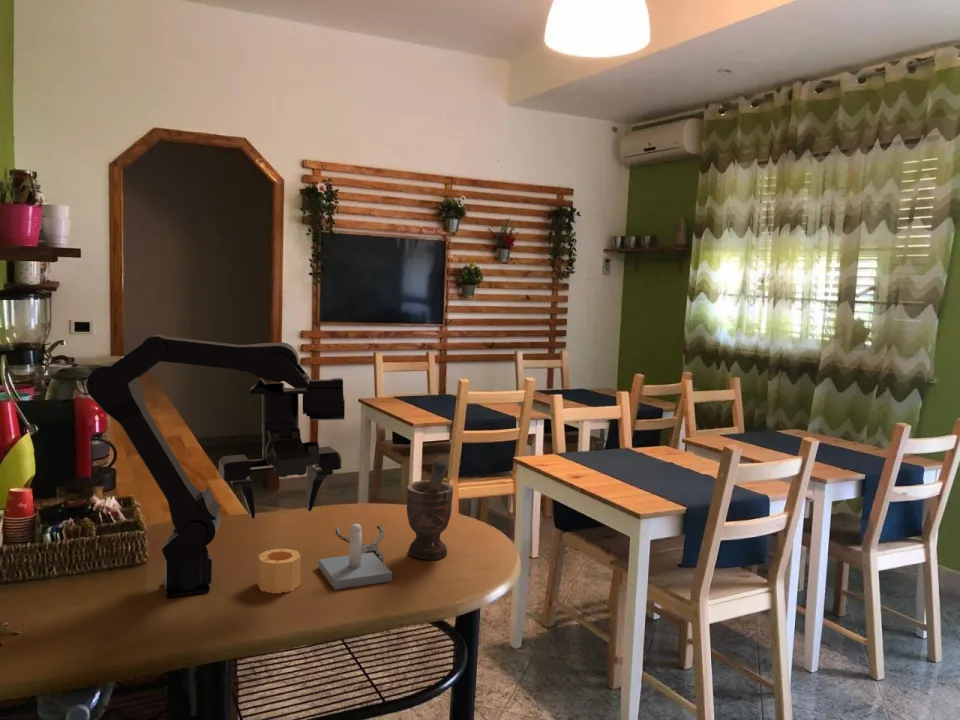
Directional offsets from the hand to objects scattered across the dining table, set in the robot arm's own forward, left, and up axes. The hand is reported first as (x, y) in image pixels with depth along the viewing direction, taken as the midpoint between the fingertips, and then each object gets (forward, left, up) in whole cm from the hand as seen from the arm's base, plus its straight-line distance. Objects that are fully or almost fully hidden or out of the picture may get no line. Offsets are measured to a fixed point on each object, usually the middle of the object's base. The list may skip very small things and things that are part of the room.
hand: (281, 514), depth 123 cm
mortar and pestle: (+29, +3, -12) cm, 31 cm away
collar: (0, 0, -12) cm, 12 cm away
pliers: (+21, +14, -13) cm, 28 cm away
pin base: (+13, 0, -12) cm, 18 cm away
